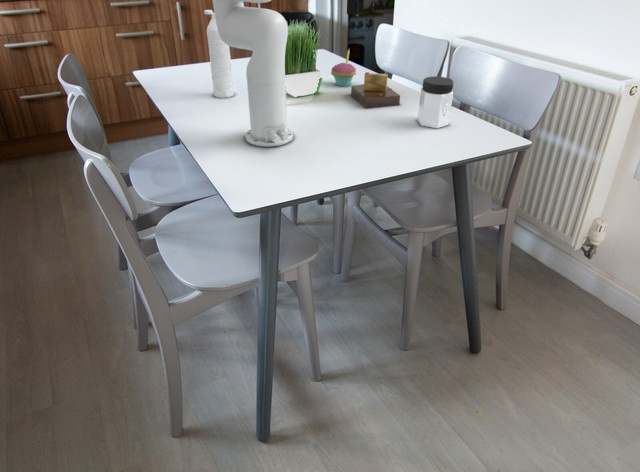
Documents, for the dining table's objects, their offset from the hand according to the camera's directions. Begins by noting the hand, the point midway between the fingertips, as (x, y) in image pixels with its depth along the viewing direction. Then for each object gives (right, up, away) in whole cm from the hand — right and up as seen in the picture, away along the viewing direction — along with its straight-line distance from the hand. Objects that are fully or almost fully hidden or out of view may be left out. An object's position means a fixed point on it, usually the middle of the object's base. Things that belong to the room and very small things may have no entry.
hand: (355, 11), depth 151 cm
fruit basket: (-16, -21, +13) cm, 30 cm away
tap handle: (+7, -22, +7) cm, 24 cm away
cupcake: (-3, -15, +23) cm, 27 cm away
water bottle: (-43, -21, +13) cm, 50 cm away
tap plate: (+7, -24, +9) cm, 27 cm away
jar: (+22, -36, -8) cm, 42 cm away
